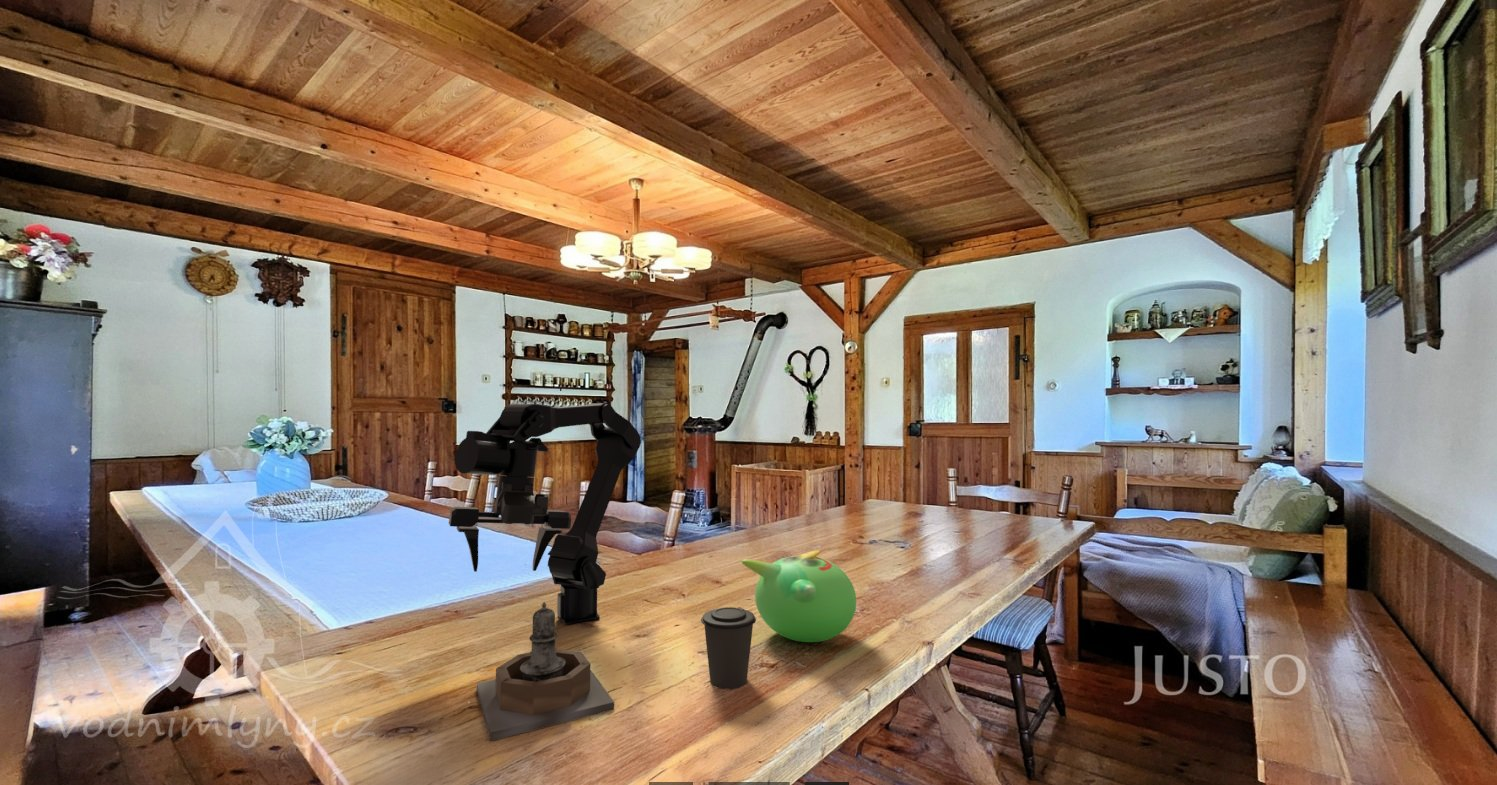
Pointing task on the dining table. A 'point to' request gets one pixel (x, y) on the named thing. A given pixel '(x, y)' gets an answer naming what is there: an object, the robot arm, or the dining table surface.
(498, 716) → the socket
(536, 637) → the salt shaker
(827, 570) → the round green monster
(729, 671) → the coffee cup
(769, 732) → the dining table surface
